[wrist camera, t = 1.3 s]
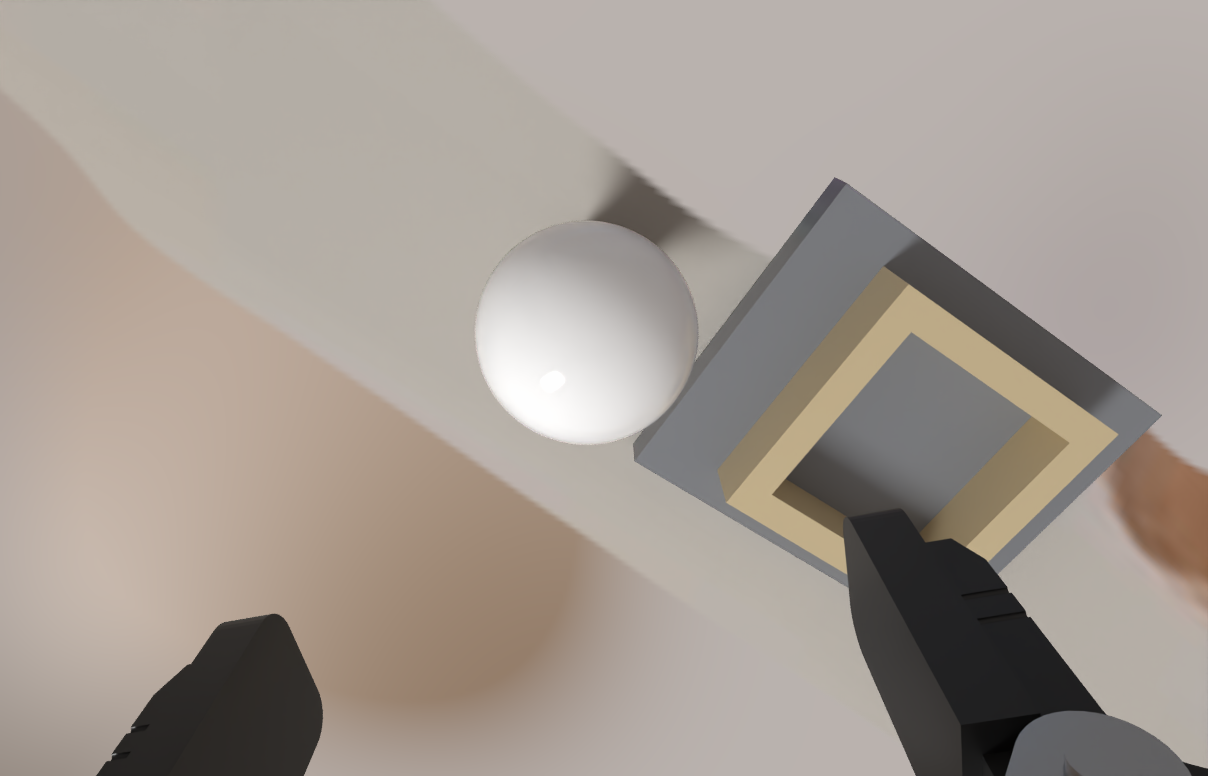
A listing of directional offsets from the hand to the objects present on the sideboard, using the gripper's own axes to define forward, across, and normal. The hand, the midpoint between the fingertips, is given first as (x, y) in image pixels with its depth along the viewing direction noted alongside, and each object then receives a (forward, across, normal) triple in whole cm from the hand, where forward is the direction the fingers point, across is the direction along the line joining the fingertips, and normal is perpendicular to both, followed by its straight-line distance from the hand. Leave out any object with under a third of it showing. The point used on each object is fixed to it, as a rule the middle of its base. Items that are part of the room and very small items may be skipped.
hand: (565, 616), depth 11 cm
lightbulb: (+20, 0, 0) cm, 20 cm away
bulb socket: (+20, -10, +9) cm, 24 cm away
